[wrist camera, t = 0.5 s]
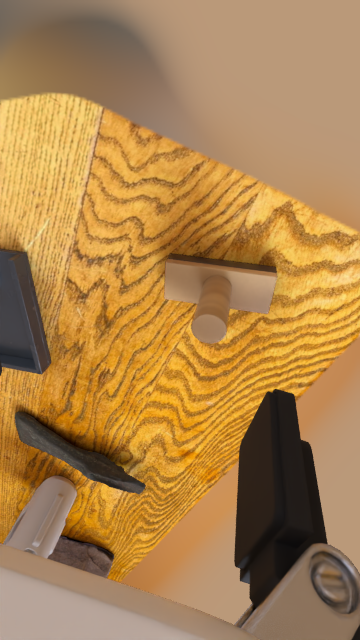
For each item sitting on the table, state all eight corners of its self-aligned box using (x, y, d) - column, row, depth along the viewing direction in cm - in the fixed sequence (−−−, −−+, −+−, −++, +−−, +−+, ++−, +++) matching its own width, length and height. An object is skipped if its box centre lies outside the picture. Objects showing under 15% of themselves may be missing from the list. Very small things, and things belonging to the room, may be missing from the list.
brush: (170, 253, 28) (144, 297, 21) (276, 266, 27) (282, 317, 20) (169, 288, 30) (144, 339, 23) (267, 302, 29) (271, 360, 22)
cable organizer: (32, 491, 58) (-14, 569, 48) (55, 465, 51) (8, 549, 42) (64, 508, 59) (26, 587, 49) (91, 484, 53) (53, 571, 43)
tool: (23, 430, 50) (8, 447, 48) (20, 402, 45) (4, 420, 43) (143, 489, 49) (135, 509, 46) (154, 467, 44) (145, 489, 41)
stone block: (17, 572, 58) (85, 624, 55) (62, 512, 67) (122, 554, 64) (22, 594, 68) (79, 639, 65) (60, 539, 77) (112, 576, 74)
